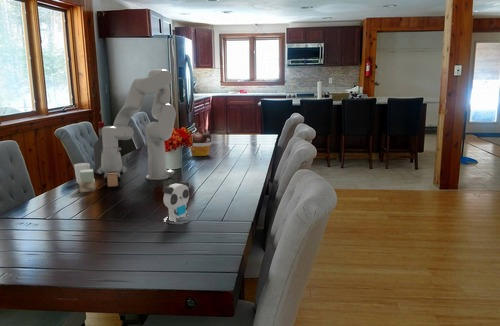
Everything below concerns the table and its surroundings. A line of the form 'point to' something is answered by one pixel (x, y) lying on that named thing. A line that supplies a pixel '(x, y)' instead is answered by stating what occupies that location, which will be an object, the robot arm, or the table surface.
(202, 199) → the table surface
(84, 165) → the white cup
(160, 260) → the table surface
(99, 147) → the liquor
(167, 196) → the panda figurine
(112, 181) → the terracotta block
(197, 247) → the table surface
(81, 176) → the sage top block
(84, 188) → the beech base block
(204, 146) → the bucket of meat
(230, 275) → the table surface
